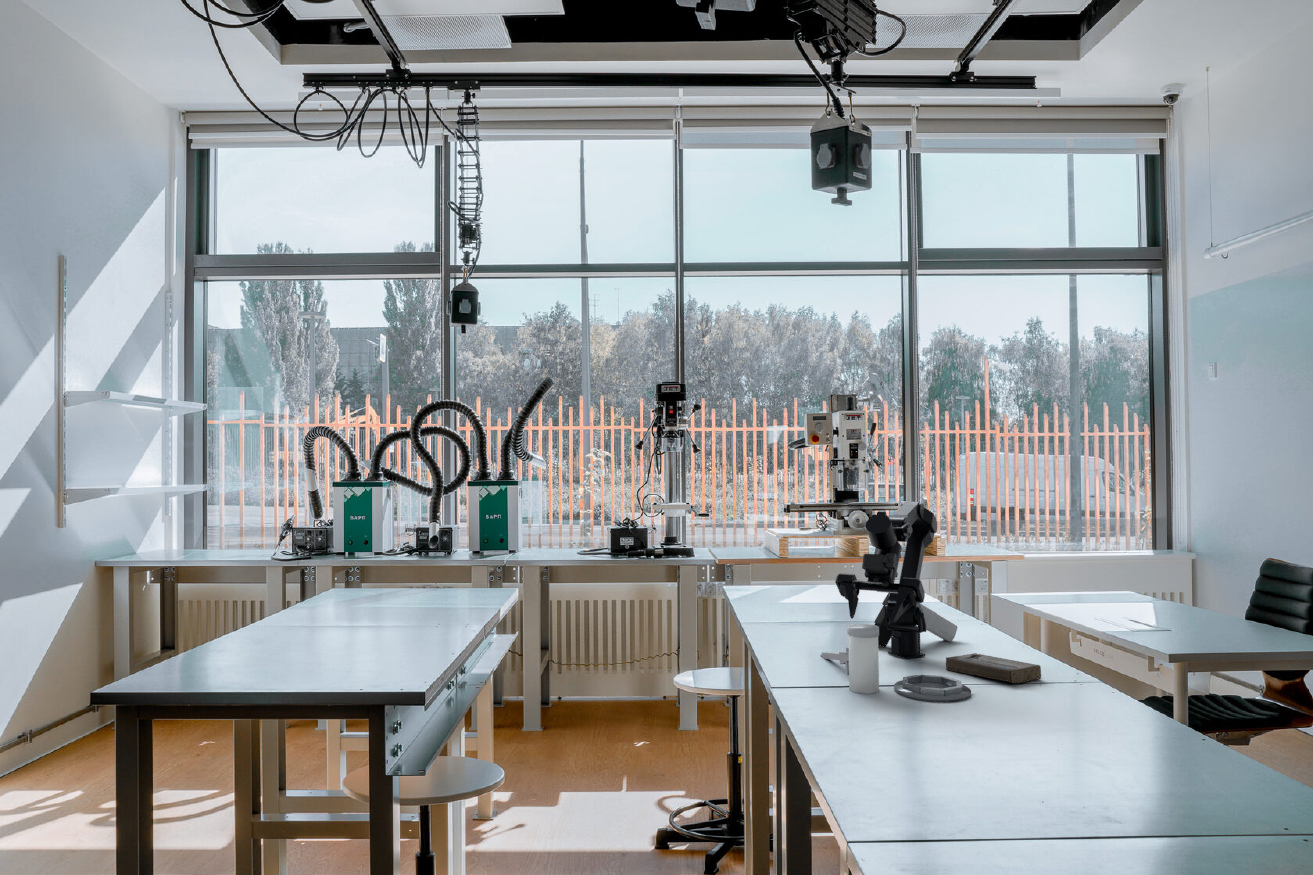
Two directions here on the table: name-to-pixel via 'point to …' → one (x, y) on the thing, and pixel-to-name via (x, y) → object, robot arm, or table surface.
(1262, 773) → the table surface
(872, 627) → the capped white cylinder
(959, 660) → the box
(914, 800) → the table surface
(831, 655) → the caliper
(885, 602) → the handheld device
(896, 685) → the collar
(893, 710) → the table surface
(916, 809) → the table surface
